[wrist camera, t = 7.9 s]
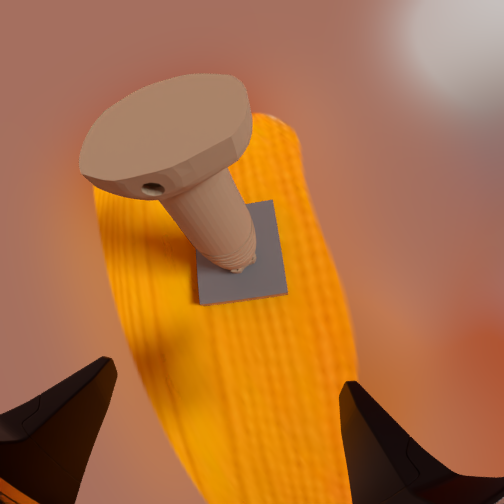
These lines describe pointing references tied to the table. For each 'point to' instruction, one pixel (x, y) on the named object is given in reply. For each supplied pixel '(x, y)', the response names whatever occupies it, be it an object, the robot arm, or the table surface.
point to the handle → (181, 159)
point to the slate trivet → (253, 276)
